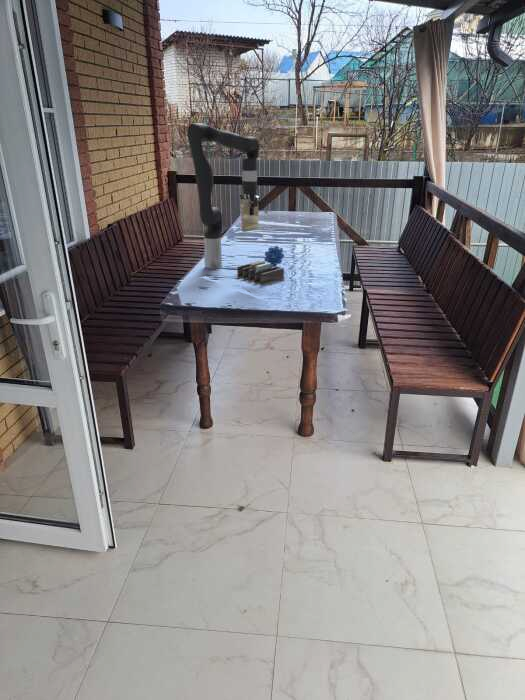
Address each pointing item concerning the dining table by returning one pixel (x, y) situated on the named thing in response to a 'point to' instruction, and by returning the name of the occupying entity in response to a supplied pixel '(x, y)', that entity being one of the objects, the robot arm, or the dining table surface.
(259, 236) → the dining table surface
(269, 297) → the dining table surface
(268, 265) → the offcut grey
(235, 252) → the dining table surface
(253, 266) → the offcut oak
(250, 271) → the rack
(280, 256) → the grapes
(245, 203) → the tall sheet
